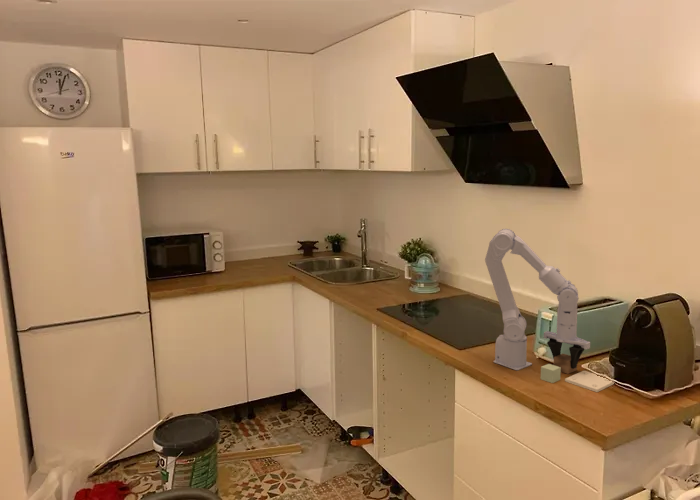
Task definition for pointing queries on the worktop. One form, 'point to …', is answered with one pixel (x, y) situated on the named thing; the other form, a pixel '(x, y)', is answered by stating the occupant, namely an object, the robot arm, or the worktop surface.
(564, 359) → the walnut brick
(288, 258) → the worktop surface
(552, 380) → the sage brick
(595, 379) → the plate
